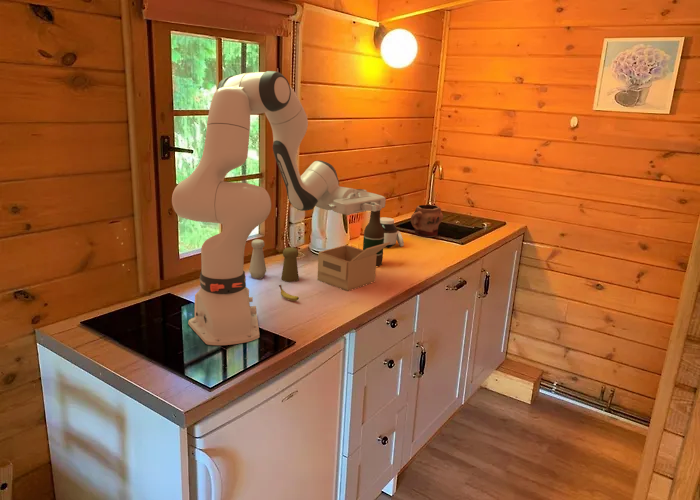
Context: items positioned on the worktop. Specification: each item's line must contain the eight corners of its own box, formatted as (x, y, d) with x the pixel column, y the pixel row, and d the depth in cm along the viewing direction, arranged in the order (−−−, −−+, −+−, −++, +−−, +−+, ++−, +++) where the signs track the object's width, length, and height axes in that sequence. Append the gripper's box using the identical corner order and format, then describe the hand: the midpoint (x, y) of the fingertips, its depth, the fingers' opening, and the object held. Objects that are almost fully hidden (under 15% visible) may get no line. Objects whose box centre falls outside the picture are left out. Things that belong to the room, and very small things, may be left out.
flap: (366, 248, 172) (366, 249, 172) (389, 241, 181) (390, 243, 181) (351, 259, 178) (351, 261, 177) (374, 252, 186) (375, 254, 186)
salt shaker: (262, 280, 185) (263, 243, 182) (246, 278, 186) (246, 241, 183) (268, 274, 191) (269, 239, 187) (252, 273, 192) (253, 237, 188)
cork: (282, 282, 185) (282, 250, 182) (280, 276, 190) (280, 245, 187) (300, 281, 186) (300, 250, 183) (297, 275, 192) (298, 245, 189)
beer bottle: (374, 259, 214) (378, 199, 207) (386, 265, 208) (390, 203, 201) (357, 262, 210) (361, 200, 203) (369, 268, 204) (373, 204, 197)
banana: (277, 297, 172) (277, 285, 171) (281, 295, 173) (281, 283, 172) (296, 304, 167) (297, 292, 166) (300, 302, 169) (300, 290, 167)
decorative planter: (422, 242, 242) (425, 211, 238) (400, 236, 250) (402, 206, 246) (447, 235, 257) (450, 206, 253) (426, 229, 264) (428, 201, 261)
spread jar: (369, 243, 236) (371, 217, 232) (389, 240, 242) (391, 215, 239) (387, 251, 227) (389, 223, 223) (408, 247, 233) (410, 221, 230)
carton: (314, 280, 188) (315, 252, 186) (344, 270, 200) (346, 244, 197) (346, 291, 179) (347, 262, 176) (376, 281, 190) (377, 253, 188)
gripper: (324, 194, 174) (357, 202, 165) (366, 188, 189) (398, 195, 180) (324, 214, 176) (356, 222, 167) (365, 206, 191) (397, 214, 182)
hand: (378, 208), depth 174 cm, fingers closed
